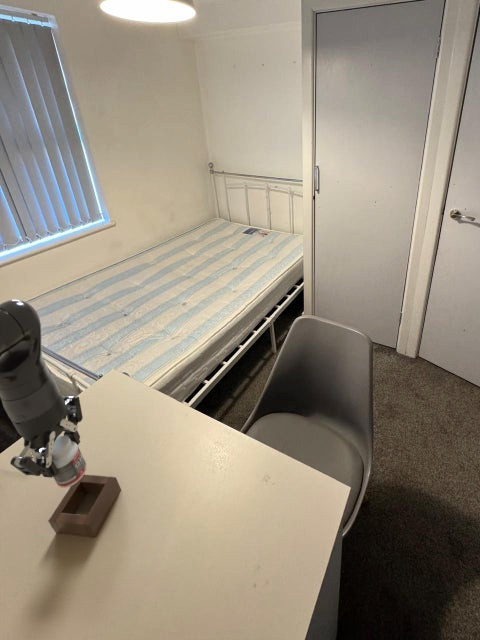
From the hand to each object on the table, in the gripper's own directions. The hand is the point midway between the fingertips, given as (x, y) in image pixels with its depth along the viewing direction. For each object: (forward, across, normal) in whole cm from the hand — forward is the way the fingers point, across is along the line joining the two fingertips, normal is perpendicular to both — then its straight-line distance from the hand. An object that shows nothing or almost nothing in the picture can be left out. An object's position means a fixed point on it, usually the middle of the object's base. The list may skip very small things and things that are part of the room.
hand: (64, 458), depth 65 cm
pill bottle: (+6, 0, 0) cm, 6 cm away
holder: (+19, 0, 0) cm, 19 cm away
